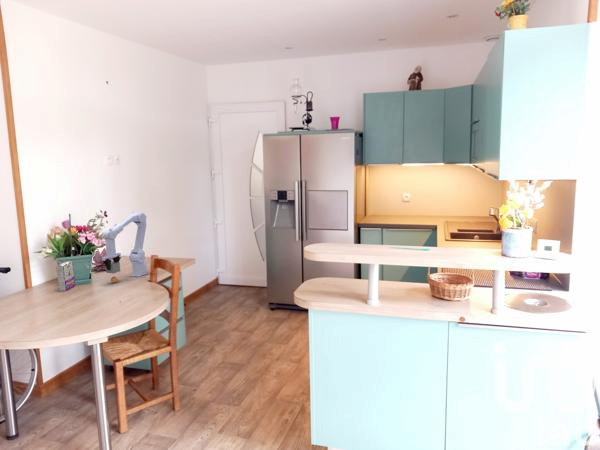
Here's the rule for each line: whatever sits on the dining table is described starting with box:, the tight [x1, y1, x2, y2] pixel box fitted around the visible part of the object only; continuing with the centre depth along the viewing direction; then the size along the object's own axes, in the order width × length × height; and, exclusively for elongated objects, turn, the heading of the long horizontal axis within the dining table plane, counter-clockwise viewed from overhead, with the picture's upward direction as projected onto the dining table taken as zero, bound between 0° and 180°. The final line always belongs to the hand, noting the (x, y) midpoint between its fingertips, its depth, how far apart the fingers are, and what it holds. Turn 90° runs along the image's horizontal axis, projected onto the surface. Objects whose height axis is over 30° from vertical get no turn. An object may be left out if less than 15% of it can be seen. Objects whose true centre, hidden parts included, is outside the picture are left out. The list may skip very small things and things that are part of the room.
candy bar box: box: [55, 261, 76, 292], centre depth 282 cm, size 11×5×16 cm, turn 179°
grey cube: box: [105, 261, 121, 274], centre depth 293 cm, size 6×6×6 cm
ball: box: [110, 276, 118, 284], centre depth 294 cm, size 4×4×4 cm
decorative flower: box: [91, 247, 114, 272], centre depth 329 cm, size 21×21×15 cm
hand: (112, 268), depth 293 cm, fingers closed on grey cube, 6 cm apart
